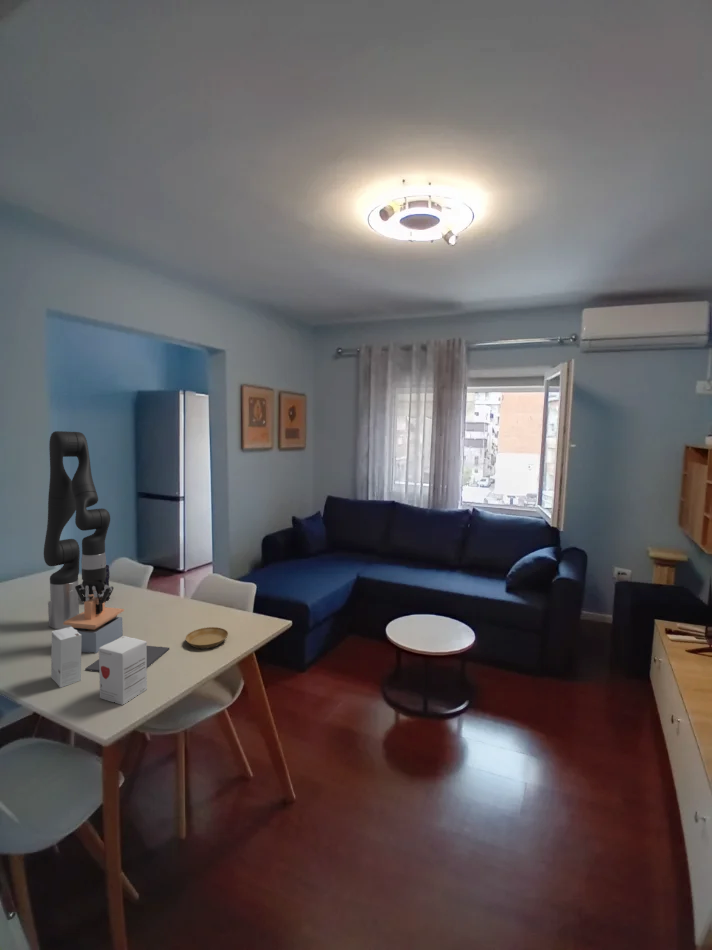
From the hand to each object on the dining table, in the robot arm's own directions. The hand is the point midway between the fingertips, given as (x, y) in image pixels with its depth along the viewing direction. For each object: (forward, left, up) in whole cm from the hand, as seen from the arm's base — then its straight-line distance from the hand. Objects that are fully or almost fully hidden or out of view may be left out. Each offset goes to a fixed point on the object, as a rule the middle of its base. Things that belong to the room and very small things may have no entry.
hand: (94, 613), depth 163 cm
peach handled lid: (0, 0, -3) cm, 3 cm away
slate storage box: (0, 0, -11) cm, 11 cm away
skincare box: (+9, -24, -11) cm, 28 cm away
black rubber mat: (+19, -9, -11) cm, 24 cm away
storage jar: (-28, +38, -11) cm, 48 cm away
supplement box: (+30, -28, -11) cm, 43 cm away
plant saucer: (+38, +8, -11) cm, 41 cm away
